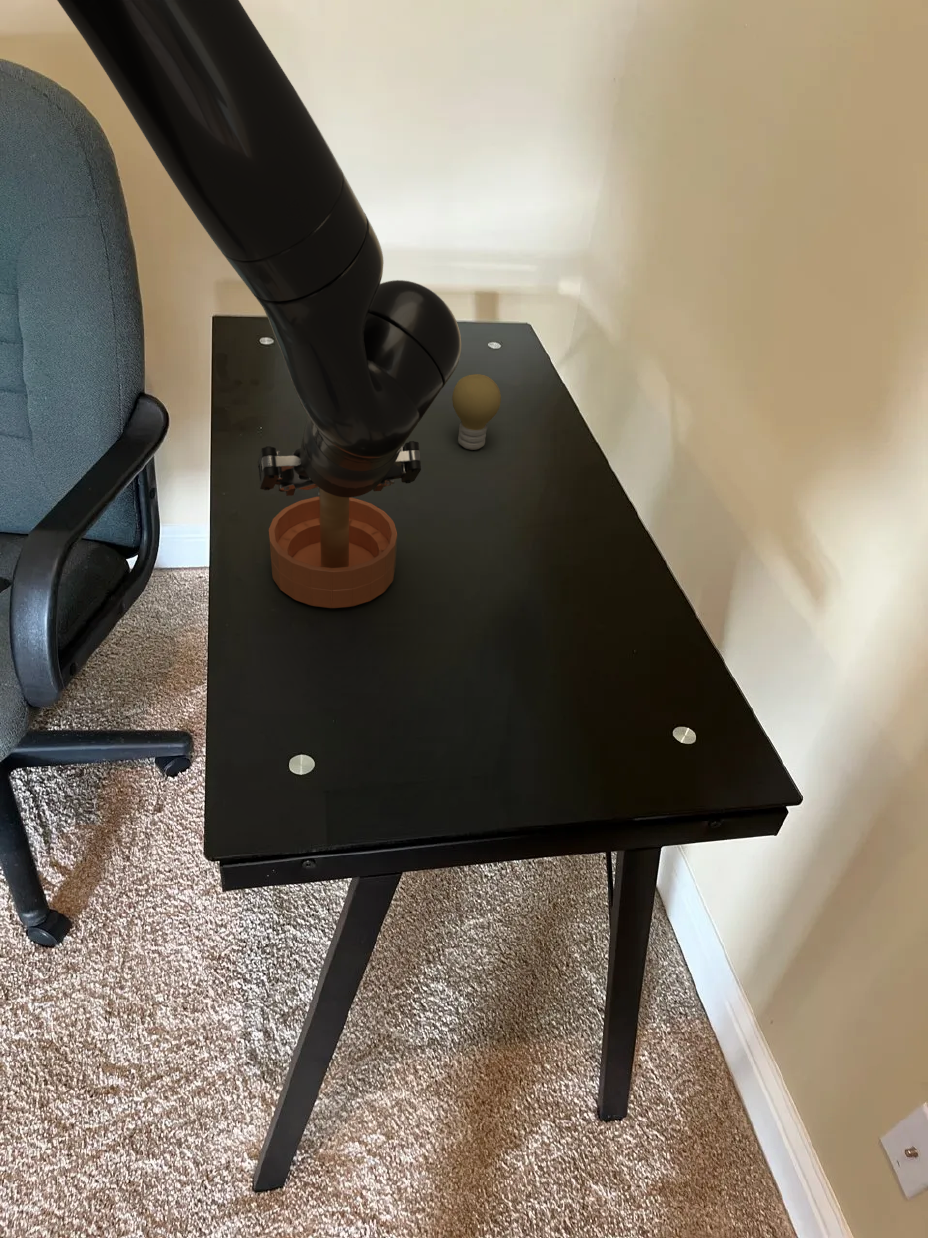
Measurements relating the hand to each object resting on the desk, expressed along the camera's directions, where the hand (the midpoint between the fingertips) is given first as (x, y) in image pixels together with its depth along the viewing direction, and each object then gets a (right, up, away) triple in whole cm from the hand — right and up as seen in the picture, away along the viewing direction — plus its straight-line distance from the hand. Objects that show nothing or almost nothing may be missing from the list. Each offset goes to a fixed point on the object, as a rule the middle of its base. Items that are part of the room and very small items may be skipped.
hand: (332, 483), depth 81 cm
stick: (-1, -8, +8) cm, 12 cm away
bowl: (-1, -8, +9) cm, 12 cm away
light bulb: (+14, +10, +32) cm, 36 cm away
